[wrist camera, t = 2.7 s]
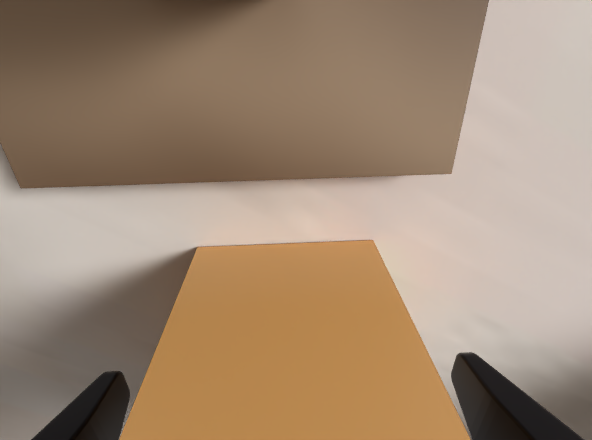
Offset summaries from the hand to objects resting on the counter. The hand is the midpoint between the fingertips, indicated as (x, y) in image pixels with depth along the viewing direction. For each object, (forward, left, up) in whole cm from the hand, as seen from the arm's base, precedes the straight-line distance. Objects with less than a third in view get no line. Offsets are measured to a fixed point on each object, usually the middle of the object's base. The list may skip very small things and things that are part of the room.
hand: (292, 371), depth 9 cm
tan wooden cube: (0, 0, -2) cm, 2 cm away
